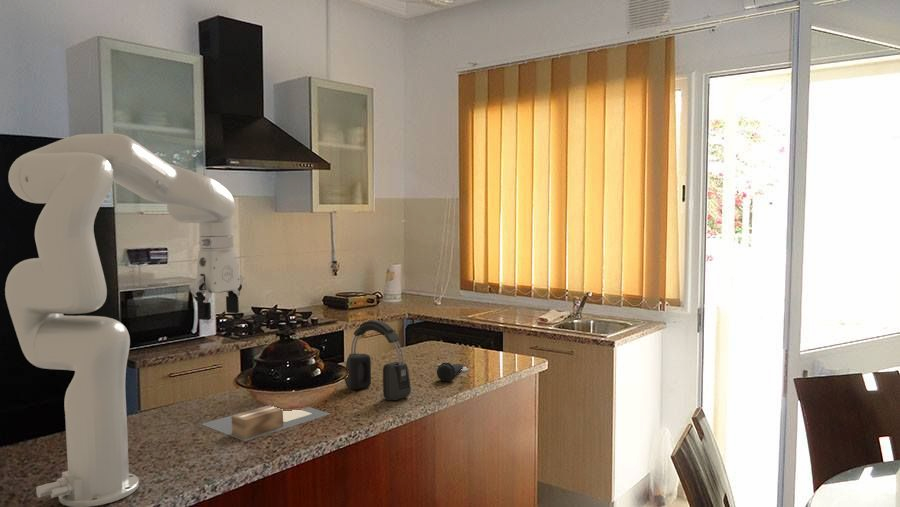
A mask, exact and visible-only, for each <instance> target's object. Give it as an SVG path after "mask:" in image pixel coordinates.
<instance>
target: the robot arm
mask: <svg viewBox="0 0 900 507" xmlns="http://www.w3.org/2000/svg"><path fill="white" fill-rule="evenodd" d="M7 178H8V184H9V186H10V188H11V190H12V191H13V193H14V194H15V195H16V196H17V197H18V198H19V199H22V200H23V201H25V202H29V203H33V204H45V205H44V207H43V208H42V210H41V212H40V214H39V215H38V218H37V220H36V223H35V228H34V240H35V244H36V250H37V254H38V257H36V258H35V257H33V258H28V259H24V260H22V261H19V262H18V263H17V264H15V265H14V266H13V267H12V269H11V270H10V271H9V273H8V275H7V277H6V281H5V288H4V292H5V293H4V295H5V300H6V304H7V308H8V311H9V315H10V318H11V321H12V324H13V327H14V331H15V333H16V337H17V339H18V342H19V346H20V349H21V351H22V354H23V355H24V357H25V358H26V360H27V361H28V362H29V363H30V364H32V366H35V367H36V368H40V369H47V370H60V371H61V370H62V371H63V370H64V371H74V374H73V377H72V379H71V382H70V383H69V384H68V387H67V388H66V391H65V395H64V401H63V402H64V406H63V407H64V415H65V416H64V419H65V438H66V439H65V440H66V456H67V457H66V458H67V460H66V461H67V470H66V471H62V472H61V477H60V478H57V479H56V481H54V482H50V483H49V482H48V483H44V484H42V485H39V486H36V489H35V490H36V496H37V498H39V499H41V498H43V497H47V496H50V497H51V499H55V498H57V497H58V501H59V503H60V504H62V505H63V506H66V507H98V506H103V505H106V504H110V503H113V502H117V501H119V500H122V499H125V498H126V497H128V496H130V495H131V494H133V493H134V492H135V491H136V490H137V489H138V487H139V485H140V482H139V480H140V479H139V477H138V476H137V475H135V474H133V473H130V470H129V469H130V468H129V467H130V466H129V465H130V464H129V446H128V445H129V444H128V442H129V441H128V440H129V439H128V419H127V418H128V417H127V415H128V414H127V400H126V399H127V398H126V394H127V393H126V375H127V374H126V373H127V365H128V358H129V352H130V346H131V339H130V338H131V336H130V334H129V331H128V329H127V327H126V326H125V325H124V324H123V323H122V322H120V321H119V320H117V319H114V318H112V317H108V316H100V315H99V316H98V315H80V314H88V313H89V314H90V313H92V312H95V311H97V310H99V309H100V308H101V307H103V305H104V304H105V302H106V299H107V295H108V293H107V292H108V289H107V283H106V278H105V275H104V270H103V266H102V263H101V259H100V258H101V257H100V255H99V251H98V246H97V241H96V238H95V232H94V229H95V228H94V225H95V220H96V217H97V213H98V211H99V209H100V207H101V205H102V204H103V202H104V200H105V199H106V198H107V197H108V194H109V193H110V191H111V189H112V188H113V184H114V183H116V184H118V185H120V186H121V187H123V188H124V189H127V190H128V191H130V192H132V193H133V194H135V195H137V196H138V197H141V198H142V199H144V200H146V201H150V202H155V203H158V204H164V205H166V209H167V213H168V215H169V216H170V217H171V218H172V219H173V220H174V221H176V222H178V223H183V224H198V238H199V239H198V245H199V250H198V253H197V261H196V262H197V263H196V278H195V280H193V281H192V282H191V283H190V284H189V285H188V287H189V290H190V291H191V295H192V297H193V298H194V301H195V303H197V317H198V320H200V321H201V320H203V321H205V320H206V321H210V320H211V319H212V308H211V307H212V306H211V302H209V301H210V298H211V297H212V295H213V294H221V293H226V295H225V305H226V306H225V307H226V308H225V309H226V313H229V314H239V311H240V310H239V309H240V306H239V297H240V296H241V290H242V289H243V284H244V276H242V275H241V274H240V267H239V259H238V254H237V251H236V248H235V247H234V223H233V222H234V221H233V220H234V218H233V216H234V214H235V210H236V204H235V203H236V202H235V199H234V197H233V195H232V193H231V192H230V191H229V190H228V189H227V187H225V186H224V185H222V184H221V183H220V182H218V181H217V180H215V179H213V178H212V177H209V176H207V175H204V174H202V173H198V172H196V171H193V170H189V169H186V168H184V167H181V166H177V165H174V164H172V163H168V162H166V161H165V160H164V159H162V158H161V157H159V156H158V155H157V154H155V153H153V152H152V151H150V150H149V149H147V148H146V147H145V146H143V145H142V144H141V143H139V142H138V141H136V140H135V139H133V138H131V136H130V137H129V136H127V135H126V134H121V133H117V132H116V133H111V132H109V133H106V132H105V133H83V134H80V133H79V134H75V135H71V136H68V137H65V138H62V139H59V140H56V141H54V142H52V143H49V144H47V145H45V146H42V147H41V146H40V147H39V148H36V149H34V150H30V151H28V152H26V153H24V154H22V155H20V156H19V157H17V158H16V159H15V161H13V162H12V164H11V166H10V167H9V171H8V177H7ZM64 314H65V315H64ZM76 314H78V315H76Z"/></svg>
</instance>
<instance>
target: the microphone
mask: <svg viewBox="0 0 900 507" xmlns="http://www.w3.org/2000/svg"><path fill="white" fill-rule="evenodd" d="M463 368H464V365H463V364H461V363H456V364H452V363H450V362H442V363H441V364H439V365H438V367H437V369H436V375H437V378H438V379H439V380H440V381H441V382H446V383H447V382H451V381H452V380H454V379H455V377H456V374H458V373H459V372H461V371H462V370H463ZM461 369H462V370H461ZM460 370H461V371H460Z"/></svg>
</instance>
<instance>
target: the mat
mask: <svg viewBox="0 0 900 507" xmlns="http://www.w3.org/2000/svg"><path fill="white" fill-rule="evenodd" d="M265 406H266V405H265ZM265 406H261V407H260V408H262V407H265ZM308 407H309V408H306V409H301V410H292V411H283V427H280V428H277V429H273V430H270V431H267V432H264V433H261V434H257V435H254V436H251V437H248V438H242V437H240V436H237V435H235V434H232V416H233V415H237V414H240V413H241V412H239V413H237V414H236V413H235V414H232V415H229V416H226V417H221V418H217V419H214V420H211V421H206V422H203V423H201V424H200V425H202V426H204V427H206V428H209V429H212V430H214V431H217V432H218V433H222V434H225V435H227V436H230V437H232V438H235V439H237V440H239V441H243V442H248V441H250V440H253V439H258V438H260V437H263V436H266V435H271V434H273V433H276V432H279V431H283V430H285V429H289V428H291V427H296V426H297V425H301V424H304V423H308V422H310V421H313V420H317V419H320V418H324V417H326V416H329V415H332V413H331V412H326V411H323V410H321V409H317V408H313V407H311V406H308ZM258 408H259V407H258ZM258 408H254V409H253V410H255V409H258ZM251 410H252V409H251ZM251 410H249V411H251ZM244 412H247V411H244ZM244 412H243V411H242V413H244Z"/></svg>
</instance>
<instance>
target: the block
mask: <svg viewBox="0 0 900 507" xmlns="http://www.w3.org/2000/svg"><path fill="white" fill-rule="evenodd" d="M268 405H269V406H268ZM268 405H265V407H264V406H261V407H262V408H261V407H258V409H257V408H254V409H255V410H254V409H251V411H250V410H248V411H247V412H246V411H244V413H243V412H239V413H240V414H239V413H237V415H235V414H232V415H233V416H232V415H231V416H232V434H235V435H237V436H240V437H242V438H248V437H251V436H254V435H257V434H261V433H264V432H267V431H270V430H273V429H277V428H280V427H283V409H280V408H277V407H274V406H271V405H272V404H268Z"/></svg>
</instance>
